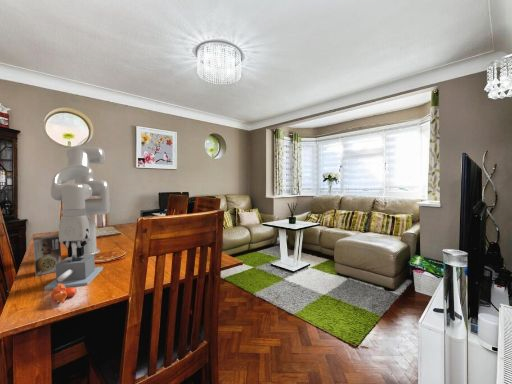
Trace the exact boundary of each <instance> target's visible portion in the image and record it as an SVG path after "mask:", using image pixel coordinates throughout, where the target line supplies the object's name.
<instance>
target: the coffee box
mask: <svg viewBox="0 0 512 384" xmlns="http://www.w3.org/2000/svg"><path fill="white" fill-rule="evenodd" d="M32 241H33V242H32V243H33V255H34V269H35V271H34V273H35V277H37V276H42V275H46V274H51V273H56V264H58V263H60V262H61V261H63V259H62V245H61V244H62V243H61V242H59V233H58V234H52V235H51V234H50V235H43V236H37V237H33V239H32Z"/></svg>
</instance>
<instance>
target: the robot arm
mask: <svg viewBox="0 0 512 384" xmlns="http://www.w3.org/2000/svg"><path fill="white" fill-rule="evenodd" d="M66 157H67V159H68V161H67V166H66V167H64V168H62V169H60V170H59V171H58V172H57V173H55V175H54V176H53V177H52V180H51V186H50V196H51V198H52V199H53V200H54V201H59V202H60V201H61V202H62V203H61V204H62V210H60V214H61V215H62V216H61V217H60V220H59V224H58V234H59V242H60V243H61V244H63V245H64V246H65V248H67V258H68V257H72V251H71V241H77V243H78V248H77V257H81V256H89V255H94V256H95V255H97V254H99V253H100V252H101V250H100V249H99V248H97V245H98V244H97V228H96V227H97V225H96V224H97V223H96V221H95V220H94V218H92V217H91V216H98V215H107V214H108V213H109V212H110V210H111V209H110V207H111V205H110V187H109V183H108V182H107V180H105V179H95V178H94V170H93V169H92V168H91V167H90V164H93V165H97V164H98V165H102V164H105V161H106V153H105V150H104V149H103V148H101V147H98V146H84V145H75V146H73V147H70V148H67V150H66ZM73 180H74V182H73V183H72V182H71V183H67V182H69V181H73ZM91 197H95V198H91ZM97 197H99V198H97Z"/></svg>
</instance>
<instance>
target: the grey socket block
mask: <svg viewBox="0 0 512 384" xmlns="http://www.w3.org/2000/svg"><path fill="white" fill-rule="evenodd" d="M95 260H96V259H95V255H89V256H81V261H73V262H72V257H68V256H67V257H66V258H65V259H62V261H61V262H60V263H58V264H56V272H55V279H54V280H52V281H51V282H50V283H48V284H47V285H46V286H44V290H45V291H47V290H54V288H56V287H57V284H64V285H65V288H68V287H74V288H75V287H80V286H81V287H82V286H88V285H89V284H90V283H91V282H92V281H93V280H94V279H95V278H96V277H97V276H98V275H99V273H101V271H102V270H103V269H104V266H97V267H96V265H95V263H96V262H95Z"/></svg>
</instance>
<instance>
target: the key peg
mask: <svg viewBox="0 0 512 384" xmlns="http://www.w3.org/2000/svg"><path fill="white" fill-rule="evenodd" d="M77 248H78V243H77V241H71V251H72V262H73V261H81V257H77Z"/></svg>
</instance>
